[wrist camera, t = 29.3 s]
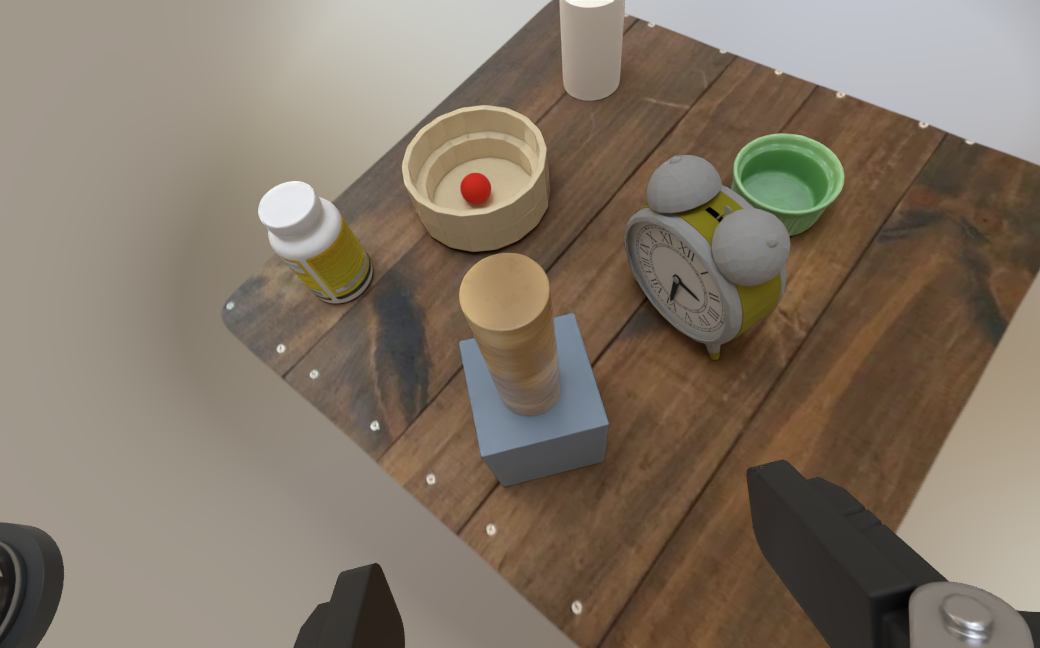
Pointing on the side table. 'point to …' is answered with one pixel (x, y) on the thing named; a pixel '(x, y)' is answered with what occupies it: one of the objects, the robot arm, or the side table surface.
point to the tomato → (475, 188)
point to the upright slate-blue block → (539, 416)
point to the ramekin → (788, 178)
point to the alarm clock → (706, 253)
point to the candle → (591, 47)
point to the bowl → (478, 149)
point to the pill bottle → (315, 242)
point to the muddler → (514, 330)
